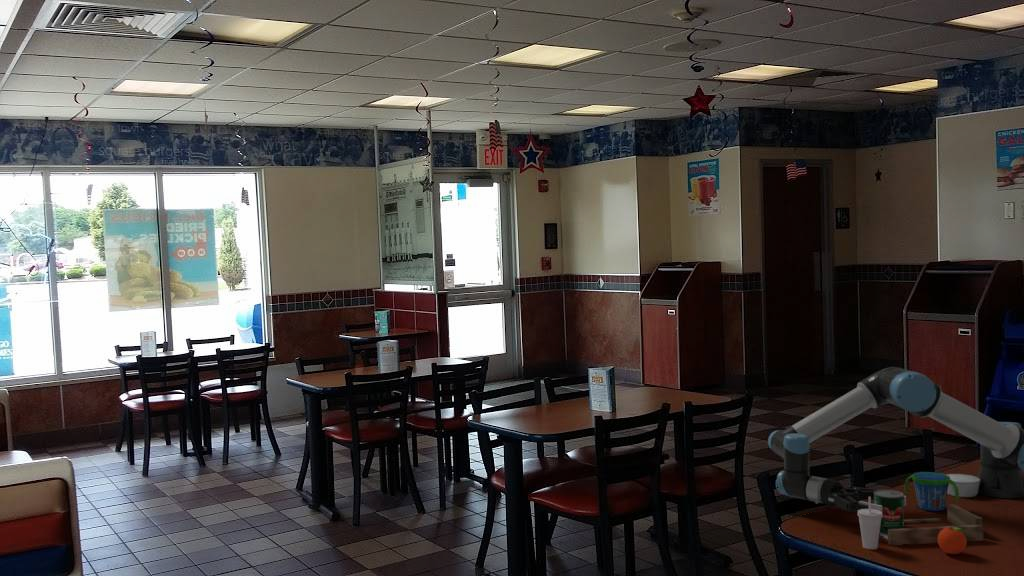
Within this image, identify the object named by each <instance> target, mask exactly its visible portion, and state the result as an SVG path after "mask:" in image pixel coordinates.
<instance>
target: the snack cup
mask: <svg viewBox="0 0 1024 576" xmlns="http://www.w3.org/2000/svg"><path fill="white" fill-rule="evenodd" d="M905 479H906V480H905V482H904V487H903V488H904V493H905V494H906V495H909V493H910V490H909V482H910V480H911V479H912V480H913V483H914V491H915V495H916V500H917V505H918V507H919V509H922V510H924V511H930V512H940V511H944V510H945V509H946V507H947V506H946V503H947V496H948V494H947V491H948V486H949V483H950V484H951V485H953V486H954V489H955V496H954V502H956V503H957V502H958V500H959V498H960V497H959V490H958V487H957V485H956V484H955V482H954V481H952V480H951V479H950V477H949V476H947V474H945V473H941V472H940V473H939V472H932V471H921V472H915V473H913V474H912V475H910V476H908V477H907V478H905Z"/></svg>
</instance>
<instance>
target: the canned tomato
mask: <svg viewBox="0 0 1024 576" xmlns="http://www.w3.org/2000/svg"><path fill="white" fill-rule="evenodd" d="M904 496H905V495H904V493H903V492H901V491H899V490H894V489H885V490H876V491H874V500H873V504H877V505H881V506H882V516H883V517H882V518H881V524H880V532H879V534H883V535H888V529H902V528H905V524H904V520H905V517H904V513H905V512H904V511H905V510H904V507H905V506H904Z"/></svg>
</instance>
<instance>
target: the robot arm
mask: <svg viewBox="0 0 1024 576" xmlns="http://www.w3.org/2000/svg"><path fill="white" fill-rule="evenodd" d="M886 404H891V405H894V406H896V407H898V408H901V409H903V410H904V411H907V412H909V413H911V414H913V415H914V416H916V417H918V418H921V419H923V418H926V417H929V418H931V419H932V420H934V421H937V422H938V423H940V424H941V425H943V426H946V427H948V428H949V429H951V430H953V431H955V432H957V433H959V434H961V435H963V436H965V437H967V438H968V439H970V440H973V441H975V442H976V443H978V444H980V467H979V471H978V473H977V476H976V477H977V478H979V479H980V484H979V489H978V494H981V495H984V496H987V497H992V498H1002V499H1021V498H1024V475H1023V473H1024V429H1023V428H1022V424H1021V423H1019V422H1014V421H1013V422H1011V421H997V420H996V419H993V418H992V417H990V416H988V415H986V414H984V413H982V412H980V411H979V410H977V409H974V408H973V407H971V406H969V405H967V404H965V403H963V402H962V401H960V400H958V399H956V398H954V397H952V396H950V395H948V394H946V393H944V392H943V391H942V387H941V386H940V385H939V384H938V383H936V382H935V381H932V380H931V379H930V378H929V377H928V376H927V375H925V374H922V373H920V372H918V371H911V370H908V369H904V368H902V367H899V366H898V367H897V366H890V367H886V368H883V369H880V370H879V371H876V372H874V373H872V374H870V375H869V376H867V377H866V378H863V379H862V380H861V381H859V382H858V383H857V385H856V388H854V389H852V390H850V391H848V392H847V393H845V394H844V395H842V396H840V397H838V398H837V399H835V400H833V401H831V402H830V403H828V404H826V405H825V406H823V407H821V408H820V409H818V410H816V411H815V412H813V413H811V414H809V415H808V416H806V417H804V418H803V419H800V420H799V421H797V422H796V423H794V424H793V425H791V426H789V427H787V428H785V429H783V430H782V429H781V430H780V429H778V430H774V431H772V432H771V433H770V434H769V436H768V440H767V444H768V446H769V448H770V449H771V451H772V452H773V453H774V454H776V455H777V456H779V457H781V459H783V464H784V465H783V466H784V468H783V470H781V471H780V472H778V473H777V474H776V475H777V476H776V480H775V488H776V490H777V492H778V493H780V494H781V495H784V496H787V497H791V498H795V499H801V500H806V501H808V502H809V501H810V502H814V503H815V504H816V505H818V504H819V503H820V504H824V505H828V506H832V507H838V508H840V509H843V510H845V511H848V512H850V513H851V512H853V514H858V510H860V509H869V502H867V501H869V497H871V501H874V491H876V490H886V489H885V488H882V489H881V488H870V487H859V486H853V485H852V486H850V487H844V486H843V485H842V483H841V482H840V481H839V480H835V479H830V478H826V477H819V476H815V475H810V455H811V453H810V449H811V446H810V443H813V442H814V441H815V440H817V439H820V437H823V436H824V435H825V434H828V433H830V432H831V431H833V430H834V429H836V428H837V427H841V426H842V425H843V424H844V423H846V422H848V421H850V420H852V419H853V418H855V417H857V416H858V415H860V414H862V413H864V412H866V411H867V410H869V409H871V408H872V409H877V408H879V407H880V406H883V405H886ZM777 487H778V488H777ZM863 500H864V501H863ZM905 506H907V496H906V495H904V507H905ZM871 509H874V510H878V511H881V512H882V506H881V505H877V504H874V503H872V502H871Z"/></svg>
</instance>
